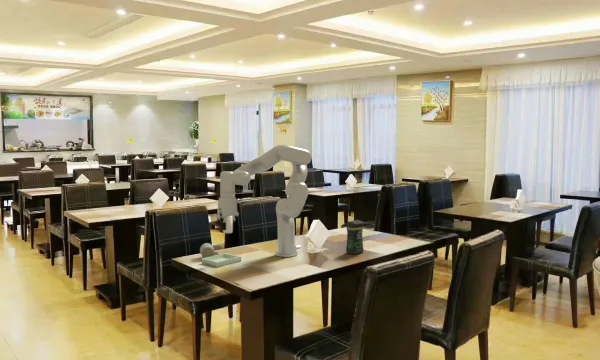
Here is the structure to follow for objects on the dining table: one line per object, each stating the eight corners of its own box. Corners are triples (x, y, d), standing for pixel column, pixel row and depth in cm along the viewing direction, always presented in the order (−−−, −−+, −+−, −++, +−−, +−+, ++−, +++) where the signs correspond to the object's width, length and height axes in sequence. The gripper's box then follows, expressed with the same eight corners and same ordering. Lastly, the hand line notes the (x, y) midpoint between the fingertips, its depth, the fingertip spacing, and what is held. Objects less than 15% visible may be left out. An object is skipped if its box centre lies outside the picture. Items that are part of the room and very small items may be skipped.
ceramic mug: (201, 260, 263) (201, 246, 262) (199, 257, 270) (199, 243, 270) (221, 259, 266) (221, 245, 265) (218, 255, 274) (218, 242, 273)
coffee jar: (354, 255, 269) (354, 222, 267) (343, 253, 275) (343, 220, 273) (365, 252, 275) (365, 220, 274) (355, 250, 281) (355, 218, 280)
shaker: (228, 231, 260) (228, 212, 259) (234, 232, 256) (234, 213, 256) (221, 232, 256) (221, 213, 255) (227, 233, 253) (227, 214, 252)
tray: (225, 257, 268) (225, 252, 268) (241, 261, 259) (241, 256, 259) (202, 263, 256) (201, 258, 256) (217, 267, 248) (217, 262, 247)
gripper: (235, 193, 263) (235, 226, 265) (210, 195, 251) (210, 230, 252) (244, 194, 259) (244, 228, 260) (219, 196, 246) (219, 232, 247)
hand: (227, 228), depth 256 cm, fingers closed on shaker, 5 cm apart
